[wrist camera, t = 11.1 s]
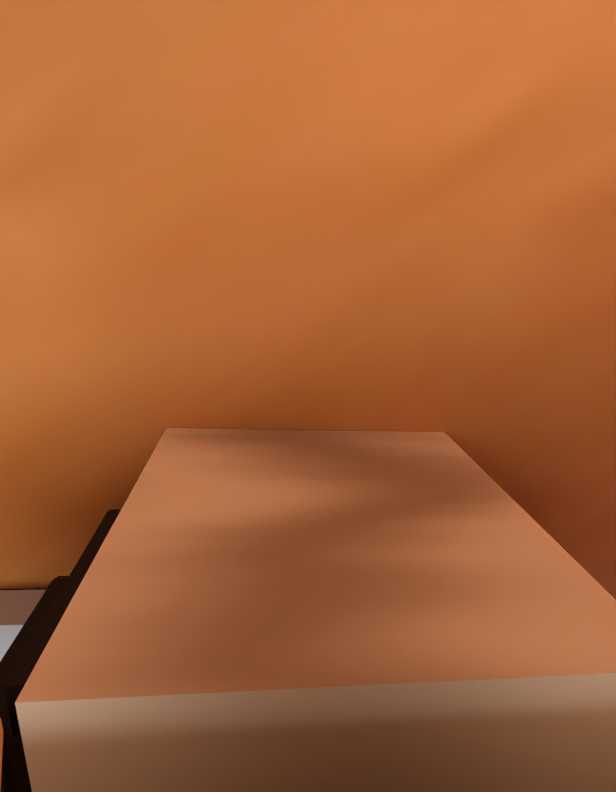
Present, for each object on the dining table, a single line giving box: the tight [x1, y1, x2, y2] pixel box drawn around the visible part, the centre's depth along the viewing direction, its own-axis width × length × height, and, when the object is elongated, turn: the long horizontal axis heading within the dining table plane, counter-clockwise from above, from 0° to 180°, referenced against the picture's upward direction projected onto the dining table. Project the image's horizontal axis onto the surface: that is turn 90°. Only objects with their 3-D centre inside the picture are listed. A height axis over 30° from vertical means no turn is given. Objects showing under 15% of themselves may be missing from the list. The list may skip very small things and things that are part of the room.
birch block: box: [15, 428, 616, 792], centre depth 8 cm, size 6×6×6 cm
